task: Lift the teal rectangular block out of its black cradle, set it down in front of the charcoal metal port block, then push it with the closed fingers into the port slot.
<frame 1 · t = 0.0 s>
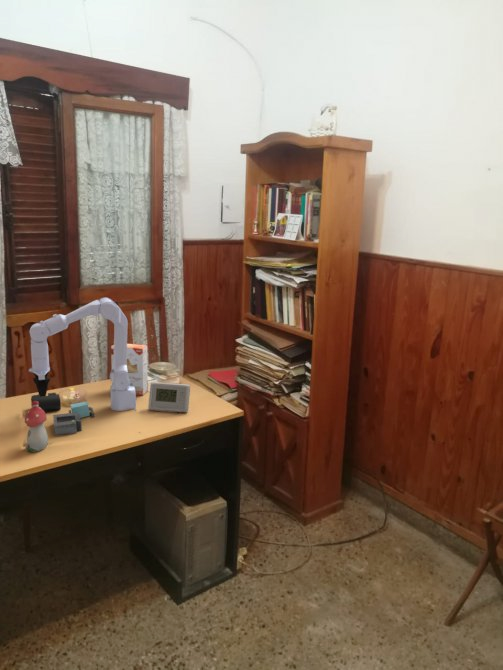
hand: (42, 392, 191), 10 cm above the table, tool pointing down, fingers open, 7 cm apart
digital clock: (169, 410, 206), on the table
cracker box: (130, 392, 223), on the table
port block: (65, 430, 183), on the table
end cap: (46, 412, 199), on the table
decorative ornament: (36, 447, 171), on the table
holster: (81, 417, 195), on the table
teal rectangular block: (81, 415, 194), point 1 cm above the table, tilted 6°, touching holster
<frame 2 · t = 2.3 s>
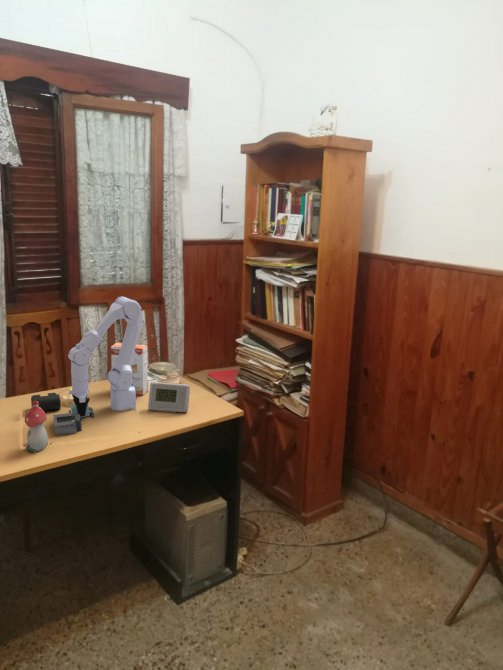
hand: (81, 413, 194), 2 cm above the table, tool pointing down, fingers closed on teal rectangular block, 3 cm apart
teal rectangular block: (81, 415, 194), point 1 cm above the table, tilted 6°, touching gripper, holster
everything else where it was.
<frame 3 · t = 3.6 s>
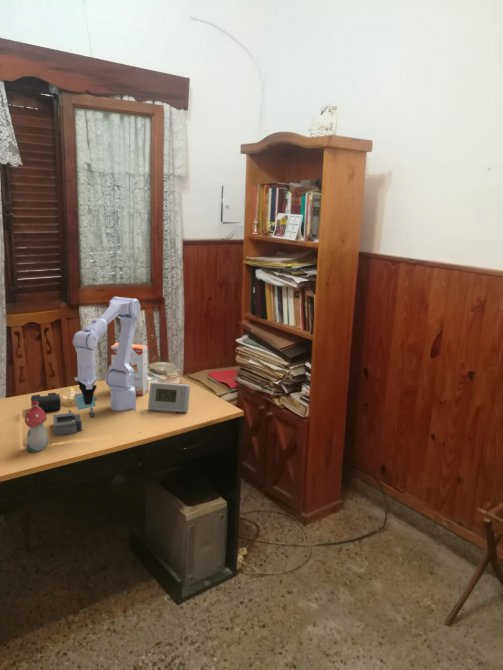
hand: (87, 402, 184), 10 cm above the table, tool pointing down, fingers closed on teal rectangular block, 3 cm apart
teal rectangular block: (86, 406, 184), point 8 cm above the table, tilted 7°, touching gripper
everything else where it was.
when the fingers open (2 cm above the table, at t = 5.2 s): teal rectangular block stays where it is, on the table.
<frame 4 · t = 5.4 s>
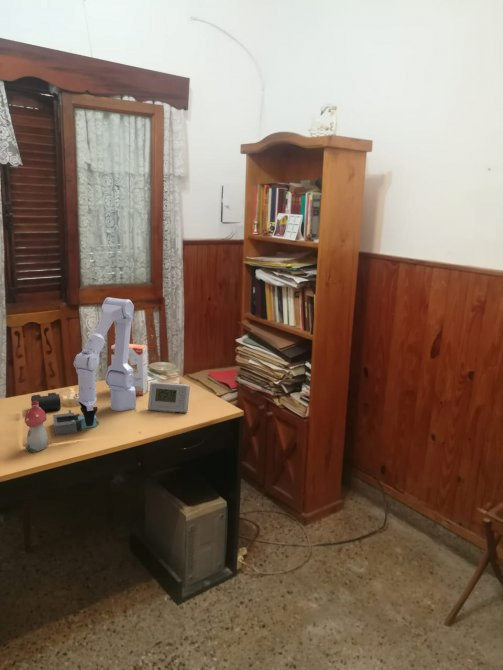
hand: (88, 422, 186), 2 cm above the table, tool pointing down, fingers open, 5 cm apart
teal rectangular block: (87, 428, 186), on the table
everything else where it was.
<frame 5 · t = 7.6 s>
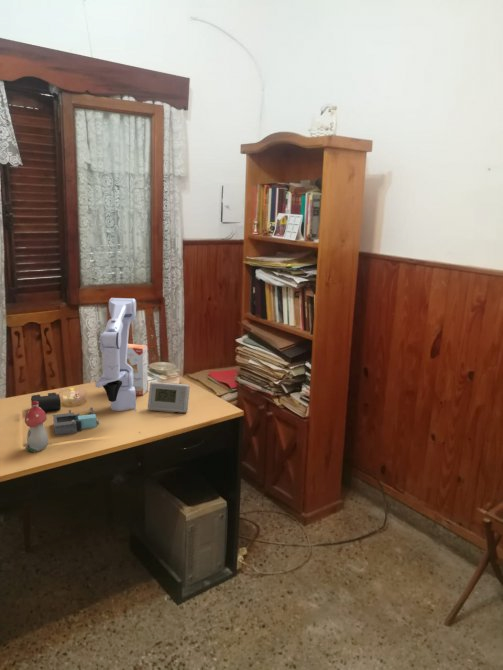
hand: (112, 400, 187), 9 cm above the table, tool pointing down, fingers closed
nothing on the table moved.
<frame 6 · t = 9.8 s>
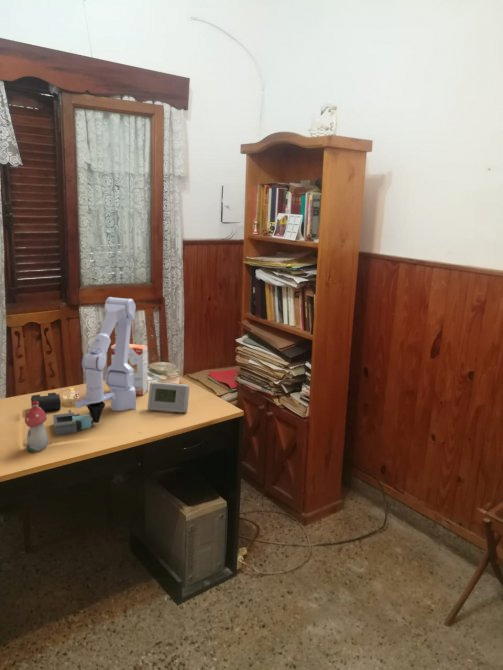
hand: (96, 421, 187), 2 cm above the table, tool pointing down, fingers closed
teal rectangular block: (82, 429, 185), on the table, touching gripper
everything else where it was.
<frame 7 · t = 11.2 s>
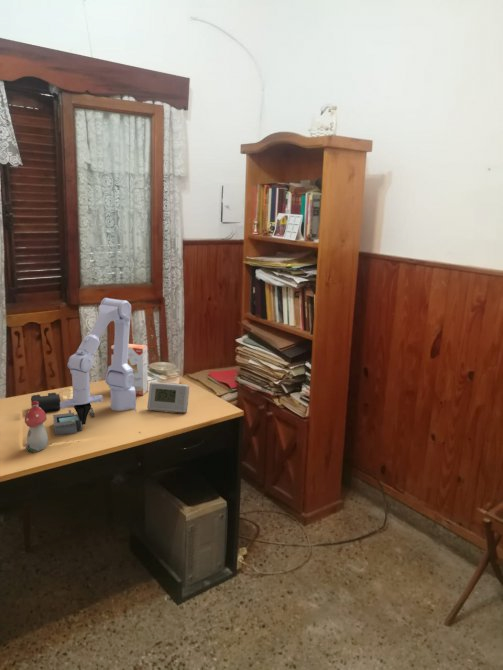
hand: (82, 423, 185), 2 cm above the table, tool pointing down, fingers closed
teal rectangular block: (69, 431, 183), resting in port block, touching gripper
everything else where it was.
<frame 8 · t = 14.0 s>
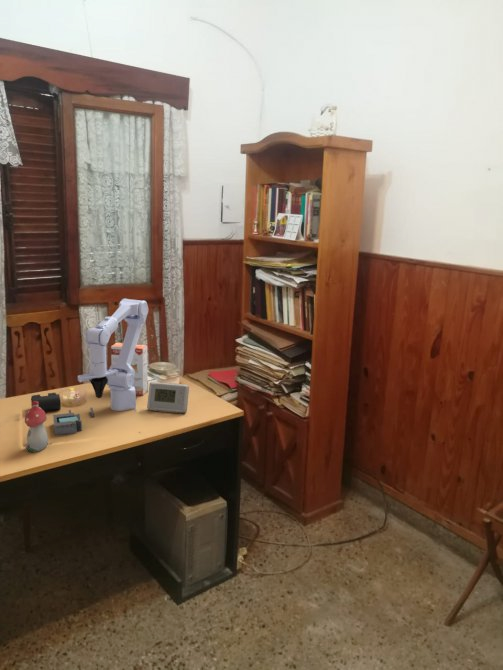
hand: (98, 397, 189), 10 cm above the table, tool pointing down, fingers closed
teal rectangular block: (69, 431, 183), resting in port block
everything else where it was.
at the end: teal rectangular block 0.8 cm from the target spot, resting in port block; teal rectangular block tilted 0°; the gripper is holding nothing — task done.
